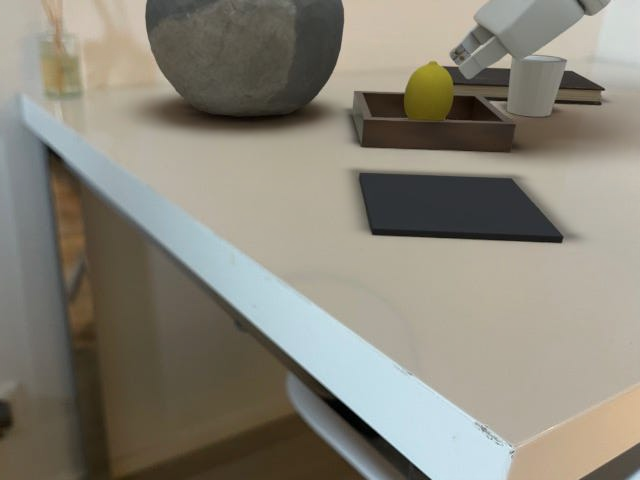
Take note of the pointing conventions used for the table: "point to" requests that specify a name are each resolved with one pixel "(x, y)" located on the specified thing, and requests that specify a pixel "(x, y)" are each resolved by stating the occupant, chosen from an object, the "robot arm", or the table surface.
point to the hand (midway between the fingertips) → (457, 66)
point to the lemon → (429, 93)
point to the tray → (431, 124)
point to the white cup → (534, 84)
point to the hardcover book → (497, 86)
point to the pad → (453, 208)
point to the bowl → (246, 51)
